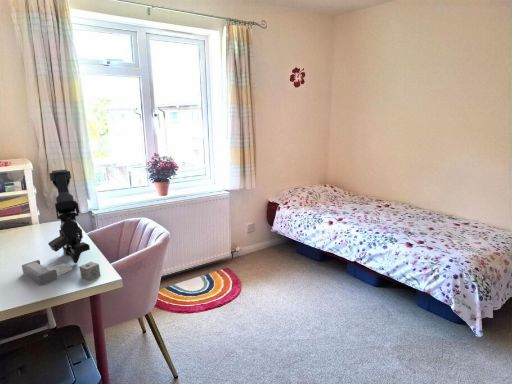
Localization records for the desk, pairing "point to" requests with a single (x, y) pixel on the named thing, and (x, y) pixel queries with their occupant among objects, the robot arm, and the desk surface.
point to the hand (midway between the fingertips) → (75, 263)
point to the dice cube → (89, 271)
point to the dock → (39, 273)
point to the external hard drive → (61, 268)
